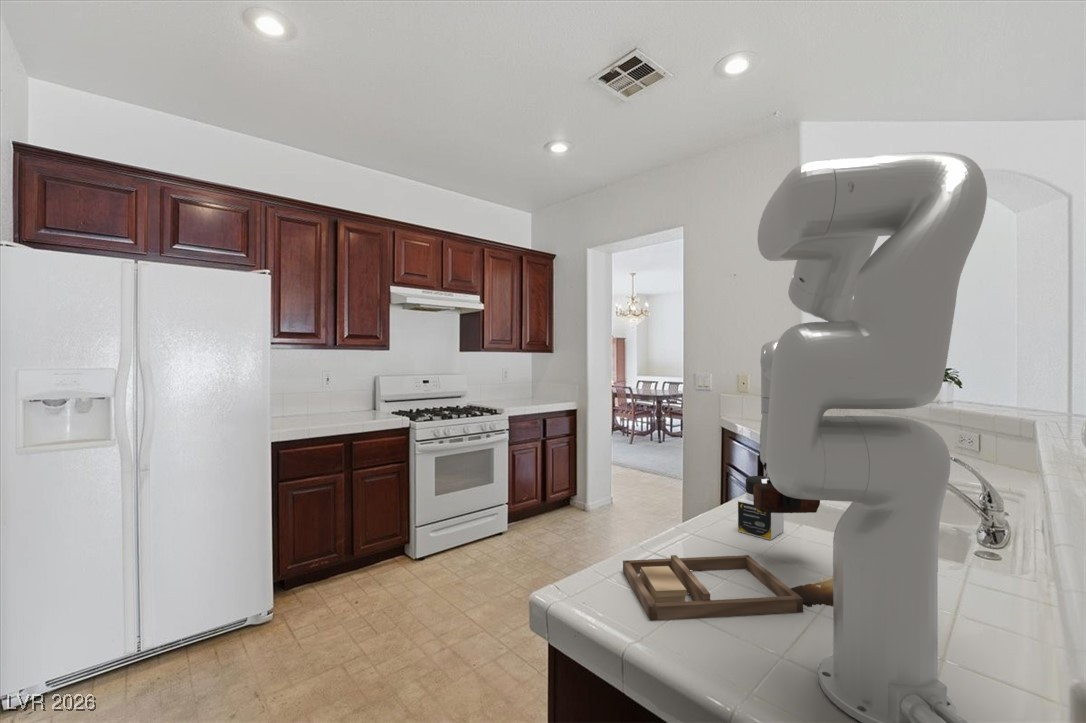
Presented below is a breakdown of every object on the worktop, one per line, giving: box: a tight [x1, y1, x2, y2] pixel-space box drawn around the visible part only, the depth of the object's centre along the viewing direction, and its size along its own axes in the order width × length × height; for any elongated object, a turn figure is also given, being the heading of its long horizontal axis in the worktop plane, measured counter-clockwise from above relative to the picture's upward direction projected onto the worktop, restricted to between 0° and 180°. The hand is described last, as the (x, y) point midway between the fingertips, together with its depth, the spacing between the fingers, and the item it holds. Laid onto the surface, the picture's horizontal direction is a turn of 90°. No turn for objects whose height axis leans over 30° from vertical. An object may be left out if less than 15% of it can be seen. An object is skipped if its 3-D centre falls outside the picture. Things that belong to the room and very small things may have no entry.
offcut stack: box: [638, 566, 688, 603], centre depth 78 cm, size 10×5×3 cm, turn 4°
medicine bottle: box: [737, 475, 785, 541], centre depth 104 cm, size 7×7×12 cm
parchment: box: [789, 575, 833, 608], centre depth 79 cm, size 25×10×1 cm, turn 105°
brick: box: [753, 483, 821, 514], centre depth 89 cm, size 11×4×5 cm, turn 88°
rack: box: [622, 554, 804, 621], centre depth 78 cm, size 16×24×3 cm
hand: (783, 503), depth 89 cm, fingers closed on brick, 4 cm apart
